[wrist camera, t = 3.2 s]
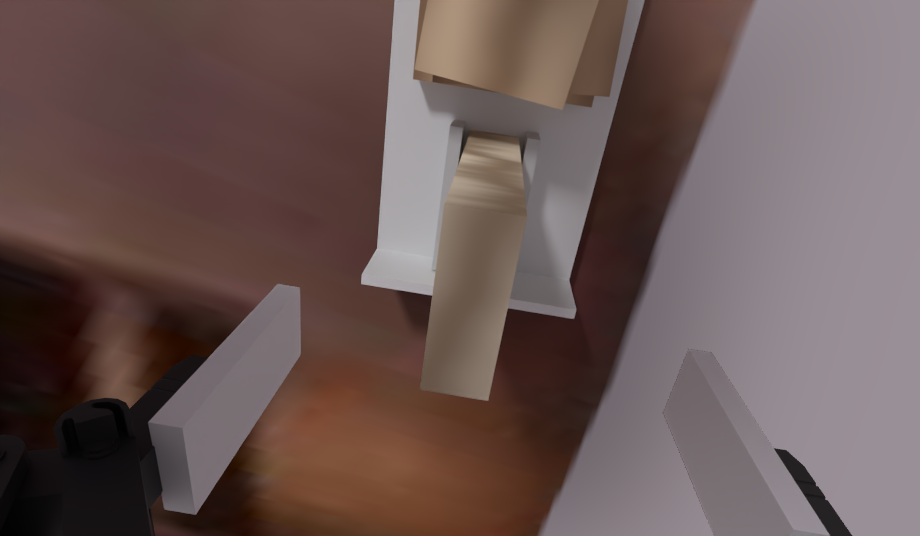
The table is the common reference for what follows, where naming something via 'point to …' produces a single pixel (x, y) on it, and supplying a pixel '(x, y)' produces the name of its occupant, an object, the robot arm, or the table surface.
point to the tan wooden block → (475, 266)
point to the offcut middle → (593, 51)
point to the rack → (438, 155)
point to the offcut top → (507, 45)
